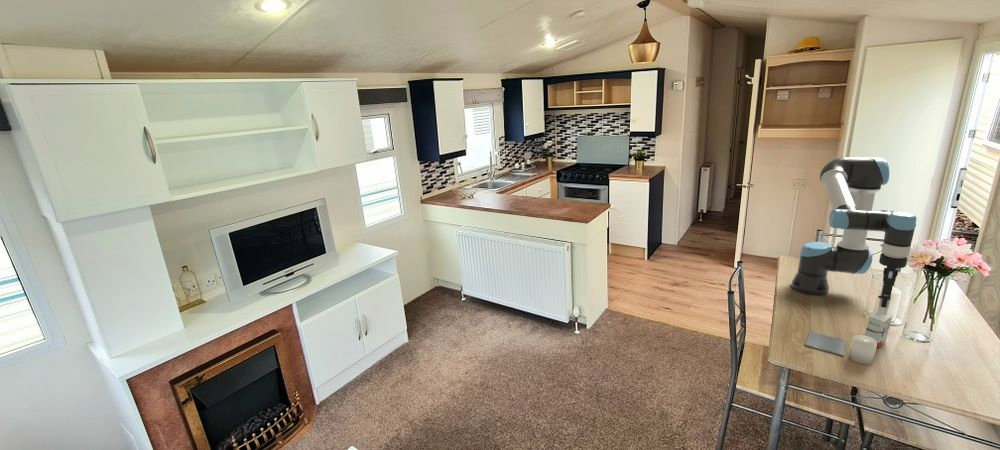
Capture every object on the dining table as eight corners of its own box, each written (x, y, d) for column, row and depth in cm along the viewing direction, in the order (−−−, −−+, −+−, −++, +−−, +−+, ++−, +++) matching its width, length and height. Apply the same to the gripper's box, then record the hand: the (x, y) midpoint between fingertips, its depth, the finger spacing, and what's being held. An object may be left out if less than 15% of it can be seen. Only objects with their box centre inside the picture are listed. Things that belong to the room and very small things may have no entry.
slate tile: (810, 332, 180) (810, 331, 179) (846, 342, 172) (847, 341, 172) (804, 345, 171) (804, 344, 171) (843, 356, 163) (843, 355, 163)
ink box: (878, 349, 166) (884, 321, 163) (862, 343, 170) (868, 316, 167) (886, 341, 171) (893, 314, 167) (870, 336, 175) (876, 309, 171)
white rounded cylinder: (849, 351, 166) (853, 332, 164) (873, 357, 162) (878, 338, 159) (847, 359, 161) (851, 340, 159) (872, 366, 157) (876, 347, 154)
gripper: (882, 243, 171) (872, 293, 177) (878, 262, 154) (867, 317, 160) (908, 247, 166) (897, 298, 172) (907, 267, 149) (894, 323, 155)
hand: (882, 307), depth 166 cm, fingers open, 13 cm apart
